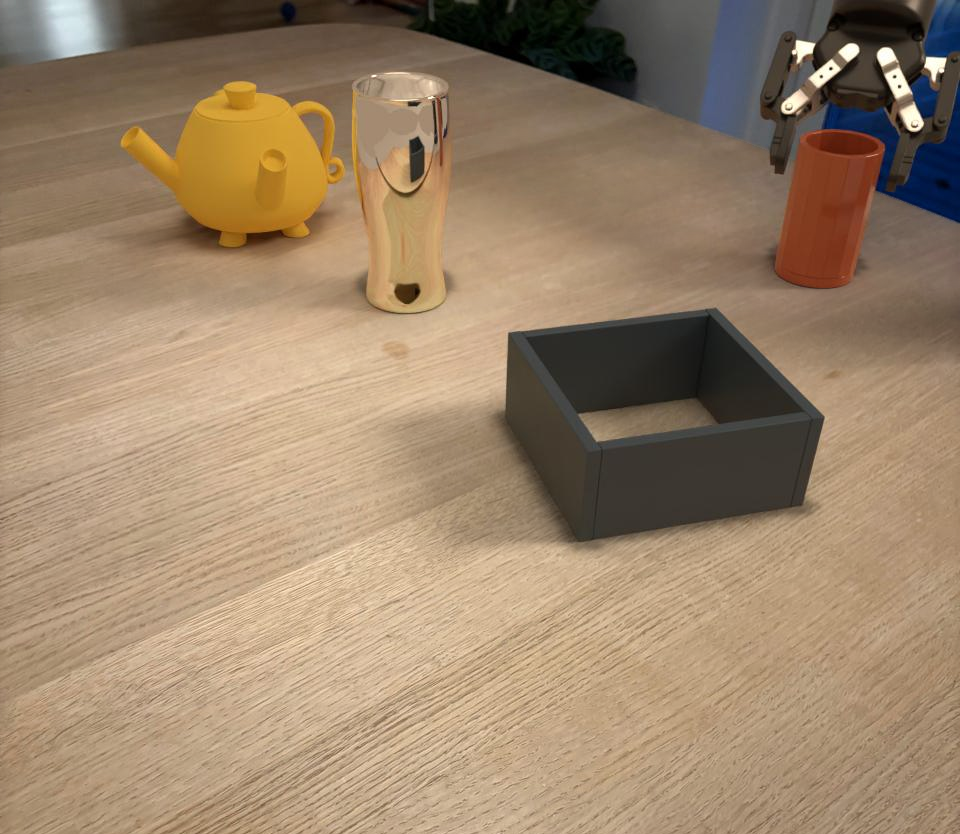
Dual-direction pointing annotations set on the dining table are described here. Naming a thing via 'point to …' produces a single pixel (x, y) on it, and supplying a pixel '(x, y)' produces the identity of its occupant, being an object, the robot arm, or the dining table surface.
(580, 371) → the open box
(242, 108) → the teapot
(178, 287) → the dining table surface
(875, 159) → the tumbler
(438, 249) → the beer glass
